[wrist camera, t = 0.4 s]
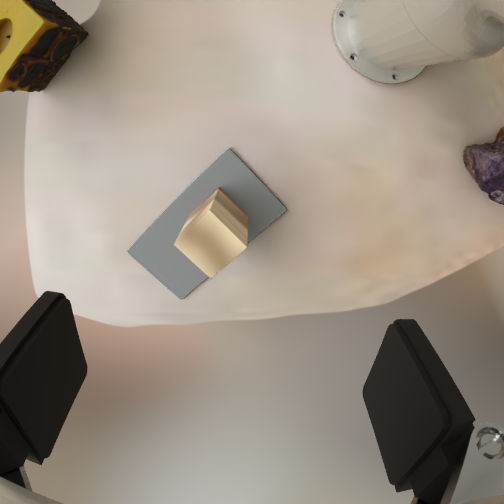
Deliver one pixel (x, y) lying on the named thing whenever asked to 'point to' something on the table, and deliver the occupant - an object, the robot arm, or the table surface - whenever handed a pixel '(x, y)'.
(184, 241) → the maple block
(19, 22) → the candle
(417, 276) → the table surface
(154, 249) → the mat
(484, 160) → the rock
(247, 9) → the table surface
